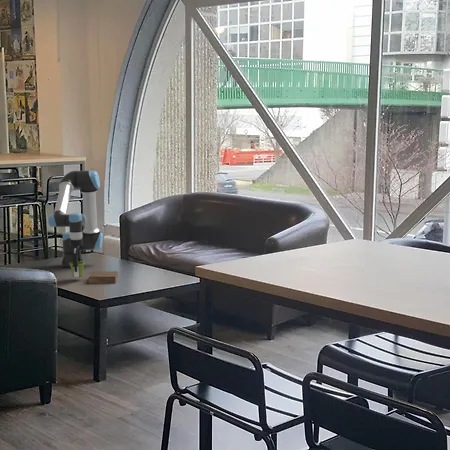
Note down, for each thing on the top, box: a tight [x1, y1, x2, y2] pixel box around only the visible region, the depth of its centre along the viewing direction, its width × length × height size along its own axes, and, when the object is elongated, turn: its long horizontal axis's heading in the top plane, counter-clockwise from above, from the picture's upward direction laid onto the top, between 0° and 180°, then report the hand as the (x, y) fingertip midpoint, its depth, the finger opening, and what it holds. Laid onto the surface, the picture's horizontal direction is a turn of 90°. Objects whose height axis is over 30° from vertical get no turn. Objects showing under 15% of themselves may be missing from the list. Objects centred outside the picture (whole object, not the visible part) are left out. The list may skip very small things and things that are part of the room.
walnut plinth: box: [88, 270, 119, 285], centre depth 428 cm, size 16×16×4 cm
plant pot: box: [69, 261, 86, 279], centre depth 429 cm, size 9×9×9 cm
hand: (77, 275), depth 429 cm, fingers closed on plant pot, 9 cm apart
